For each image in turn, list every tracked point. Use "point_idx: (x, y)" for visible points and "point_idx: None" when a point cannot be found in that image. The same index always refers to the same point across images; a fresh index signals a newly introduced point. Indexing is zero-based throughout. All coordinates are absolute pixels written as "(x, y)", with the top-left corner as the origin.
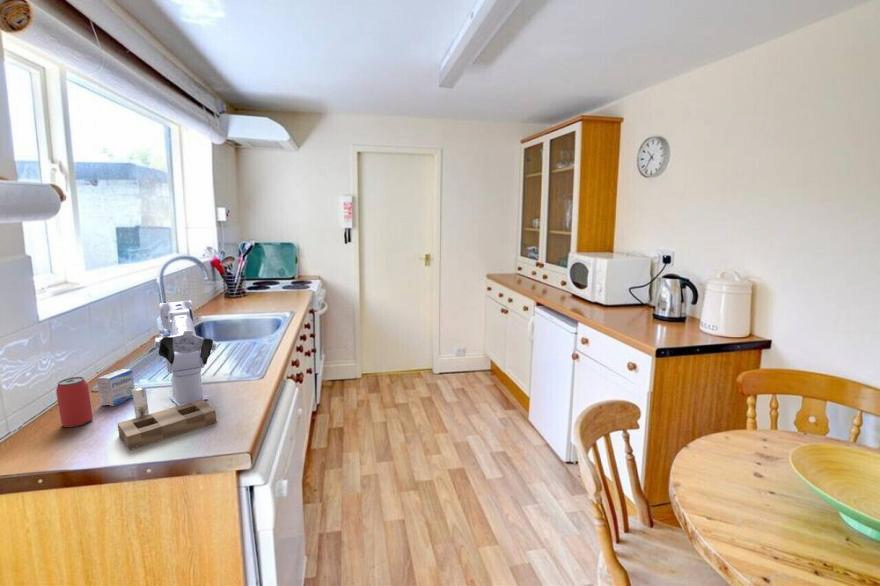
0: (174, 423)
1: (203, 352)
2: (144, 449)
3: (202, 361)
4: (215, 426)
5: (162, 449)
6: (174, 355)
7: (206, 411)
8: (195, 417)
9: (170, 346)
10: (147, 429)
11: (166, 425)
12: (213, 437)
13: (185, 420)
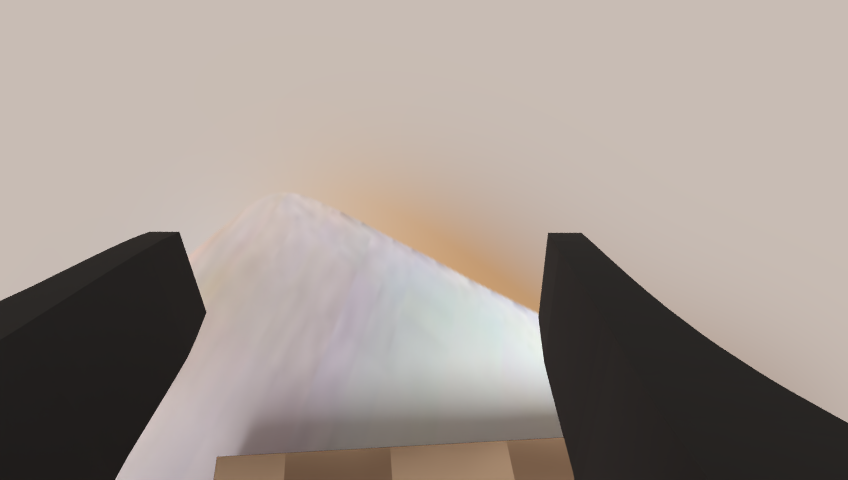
0: (447, 445)
1: (49, 412)
2: (555, 420)
3: (158, 404)
4: (255, 431)
5: (494, 370)
6: (553, 237)
7: (264, 475)
8: (338, 452)
9: (677, 355)
10: (567, 453)
11: (484, 442)
12: (312, 330)
13: (392, 448)
